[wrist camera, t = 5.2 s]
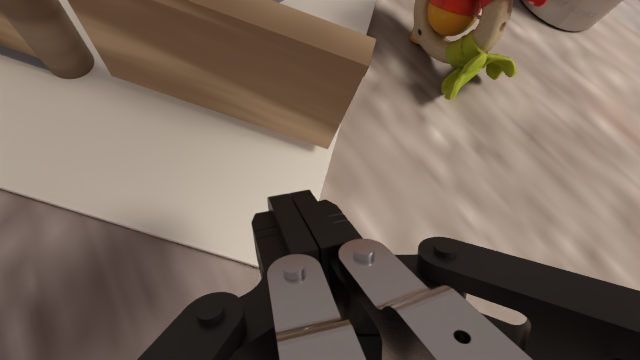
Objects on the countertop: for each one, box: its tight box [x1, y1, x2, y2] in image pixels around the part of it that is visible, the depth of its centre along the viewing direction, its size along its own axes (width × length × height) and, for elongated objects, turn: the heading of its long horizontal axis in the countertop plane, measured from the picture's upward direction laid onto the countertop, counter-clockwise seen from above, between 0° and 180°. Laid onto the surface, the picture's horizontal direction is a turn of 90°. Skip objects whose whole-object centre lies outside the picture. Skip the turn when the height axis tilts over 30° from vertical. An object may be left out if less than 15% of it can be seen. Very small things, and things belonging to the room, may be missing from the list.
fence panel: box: [67, 0, 376, 149], centre depth 16 cm, size 2×13×8 cm, turn 75°
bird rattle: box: [410, 0, 547, 100], centre depth 22 cm, size 6×11×9 cm
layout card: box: [0, 0, 376, 268], centre depth 22 cm, size 24×28×1 cm
